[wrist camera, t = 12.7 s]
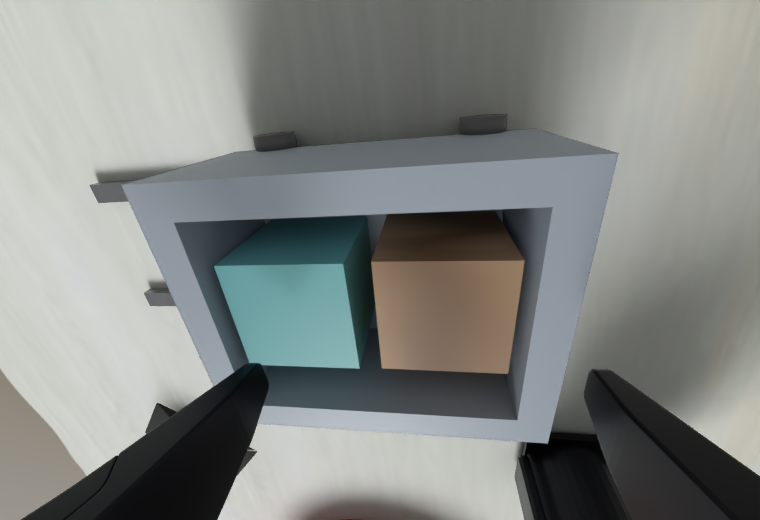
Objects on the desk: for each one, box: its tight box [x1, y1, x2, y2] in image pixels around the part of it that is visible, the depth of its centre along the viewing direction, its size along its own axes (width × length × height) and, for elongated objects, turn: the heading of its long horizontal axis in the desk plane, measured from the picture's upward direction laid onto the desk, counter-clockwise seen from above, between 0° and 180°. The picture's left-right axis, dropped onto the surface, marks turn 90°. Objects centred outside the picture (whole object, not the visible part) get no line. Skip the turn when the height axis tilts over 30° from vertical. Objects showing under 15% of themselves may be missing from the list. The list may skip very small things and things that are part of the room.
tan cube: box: [371, 211, 525, 374], centre depth 12 cm, size 4×4×4 cm
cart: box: [121, 114, 619, 444], centre depth 14 cm, size 13×12×7 cm
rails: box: [90, 180, 176, 306], centre depth 17 cm, size 23×8×1 cm, turn 95°
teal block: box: [214, 216, 375, 369], centre depth 13 cm, size 4×4×4 cm
